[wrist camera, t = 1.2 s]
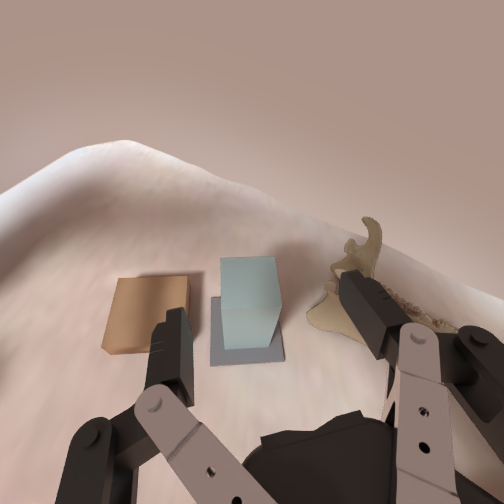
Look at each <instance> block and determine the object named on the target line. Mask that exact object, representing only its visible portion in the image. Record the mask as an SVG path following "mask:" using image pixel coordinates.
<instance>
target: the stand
mask: <svg viewBox="0 0 504 504" xmlns="http://www.w3.org/2000/svg"><path fill="white" fill-rule="evenodd" d="M189 302H190V283H189V279H188V276H167V277H140V278H118V282H117V286H116V290H115V294H114V298H113V302H112V306H111V310H110V314H109V318H108V322H107V326H106V330H105V334H104V338H103V342H102V346H101V348H103V349H104V350H105V351H107V352H108V353H109V354H110V355H117V354H133V353H149V351H150V346H151V344H150V343H151V336H152V332H153V330H154V329H155V327H156V325H157V323H161V322H166V311H167V310H169V309H173V308H178V307H184V310H185V312H186V315H187V318H188V317H189Z"/></svg>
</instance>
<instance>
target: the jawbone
mask: <svg viewBox="0 0 504 504" xmlns="http://www.w3.org/2000/svg"><path fill="white" fill-rule="evenodd" d="M362 221H363V223H364V224H365V226H366V227H367V229H368V232H369V239H368V241H367V243H366V244H365V245H363V246H358V245H357V244H356V243H355V241H354V240H353V239H349V241H348V242H347V243H346V245H345V248H344V252H346V253H348V254H347V256H346V258H345V259H343V260H342V261H340V262H338V263H335V264H333V265H332V266H331V267H330V269H331V271H332V272H333V274H334V275H335V276H336V277H337V278H339V279H340V277H341V273H342V272H345V271H350V270H355V269H357V270H359V271H360V272H361V274H362V275H363V276H364V277H365V278H366V277H370V278H372V279H373V277H374V268H375V264H376V261H377V258H378V255H379V252H380V248H381V244H382V230H381V227H380V225H379V223H378V222H377V221H375V220H374V219H373V218H370V217H363V218H362ZM379 283H380V282H379ZM382 287H383V288H384V289H385V290H386V292H388V293H389V295H390V296H391V298H393V299H394V300H395V301H396V303H397V304H398V305H399V306H400V307H401V308H402V309H403V310H404V312H405V313H406V314H407V315H408V316H409V317H410V318H411V320H412V321H413V322H414V323H419V324H422V325H424V326H426V327H428V328H430V329H431V330H432V331H433V332H438V333H456V334H457V333H458V331H459V330H457V329H456V328H455V327H452V326H449V325H448V322H444V321H443V320H438V321H437V320H434V319H431V318H430V317H429V316H428V315H427V314H425V315H423V314H422V313H421V311H420V309H419V307H418V306H415V307H413V306H412V304H411V303H406V301H405V299H404V298H402V299H399V297H398V295H397V294H394V295H393V293H392V290H391V289H387V288H386V285H382ZM336 289H337V287H336V285H335V284H334V283H333V282H332V281H327V282H325V287H324V290H326V291H327V292H328V294H327V296H326V298H325V300H324V301H323V302H322V303H321V304H319V305H318V306H316V307H314V308H312V309H311V310H309V311H308V312H307V314H306V315H307V319H308V321H309V322H310V324H311V325H312V326H314V327H315V328H317V329H320V330H324V331H331V332H332V331H333V332H338V333H341V334H343V335H345V336H348V337H350V338H352V339H354V340H356V341H358V342H360V343H362V344H364V345H366V346H367V344H366V342H365V341H364V339H363V338H362V336H361V335H360V333H359V332H358V330H357V328H356V327H355V325H354V324H353V322H352V321H351V319H350V318H349V316H348V314H347V313H346V311H345V310H344V308H343V307H342V305H341V303H340V300H339V295H338V294H336Z"/></svg>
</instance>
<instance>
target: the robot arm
mask: <svg viewBox="0 0 504 504" xmlns="http://www.w3.org/2000/svg"><path fill="white" fill-rule="evenodd" d="M338 295H339V300H340V303H341V305H342V307H343V308H344V310H345V311H346V313H347V314H348V316H349V318H350V319H351V321H352V322H353V324H354V325H355V327H356V328H357V330H358V332H359V333H360V335H361V336H362V338H363V339H364V341H365V342H366V344H367V346H368V347H369V349H370V350H371V352H372V353H373V355H374V356H375V358H376V360H379V359H383V358H386V360H387V361H388V368H387V379H386V389H385V400H384V407H383V412H382V416H381V421H380V420H376V419H373V418H367V417H363V415H362V413H361V411H360V410H358V411H354V412H351V413H347V414H343V415H340V416H336V417H335V418H333V419H332V420H330V421H329V422H327V423H326V424H324V425H322V426H321V427H319V428H318V429H316V430H314V431H291V430H285V431H281V432H278V433H274V434H270V435H267V436H263V437H260V438H261V443H262V444H261V445H260V446H258V447H257V448H256V449H254V450H253V451H252V452H251V453H250V454H249V455H248V456H247V457H246V459H245V460H244V462H243V463H242V465H241V464H240V462H239V461H238V460H237V459H236V458H235V457H234V456H233V455H232V454H231V453H230V452H229V450H228V449H227V448H226V447H225V446H224V445H223V444H222V443H221V442H220V441H219V440H218V438H217V437H216V436H215V435H214V434H213V433H212V432H211V431H210V430H209V429H208V428H207V427H206V426H205V425H204V424H203V423H202V422H199V421H198V420H197V419H196V418H195V417H194V416H193V414H192V413H191V412H190V411H189V410H188V409H187V408H188V407H192V406H194V367H193V335H192V329H191V326H190V323H189V320H188V318H187V315H186V312H185V310H184V307H178V308H173V309H169V310H167V311H166V322H161V323H157V325H156V327H155V329H154V330H153V332H152V336H151V343H150V344H151V346H150V351H149V352H150V354H149V359H148V367H147V374H146V382H145V388H144V391H143V392H142V393H141V395H140V396H139V397H138V399H137V401H136V403H135V404H134V405H133V406H131V407H130V408H129V409H127V410H125V411H124V412H122V413H120V414H119V415H117V416H115V417H113V418H112V419H110V420H108V419H107V418H104V417H97V418H94V419H91V420H89V421H88V422H86V423H85V424H84V425H82V426H81V427H80V428H79V429H78V431H77V432H76V433H75V435H74V436H73V438H72V440H71V443H70V446H69V450H68V454H67V458H66V462H65V466H64V470H63V474H62V478H61V482H60V485H59V489H58V493H57V497H56V501H55V504H136V502H137V487H138V472H139V466H141V465H142V464H144V463H145V462H147V461H148V460H150V459H151V458H152V457H154V456H155V455H157V454H158V453H160V452H161V453H162V454H163V455H164V457H165V458H166V460H167V462H168V463H169V465H170V466H171V468H172V469H173V470H174V472H175V473H176V475H177V476H178V477H179V479H180V480H181V482H182V483H183V484H184V486H185V487H186V488H187V490H188V491H189V493H190V494H191V495H192V497H193V498H194V500H195V501H196V502H197V504H503V503H502V502H501V501H499V500H498V499H496V498H495V497H493V496H492V495H490V494H489V493H488V492H486V491H485V490H483V489H482V488H480V487H479V486H478V485H476V484H475V483H473V482H472V481H470V480H469V479H468V478H466V477H465V476H463V475H462V474H460V473H459V472H457V471H456V470H455V469H454V460H453V448H452V436H451V423H450V411H449V399H448V390H447V388H448V389H449V390H450V392H451V393H452V394H453V396H454V397H455V399H456V400H457V401H458V403H459V404H460V405H461V407H462V408H463V409H464V411H465V412H466V413H467V415H468V416H469V418H470V419H471V420H472V422H473V423H474V424H475V426H476V427H477V428H478V430H479V431H480V432H481V434H482V435H483V437H484V438H485V439H486V441H487V442H488V443H489V445H490V446H491V447H492V449H493V450H494V451H495V453H496V454H497V456H498V457H499V458H500V460H501V461H502V462H503V464H504V344H503V343H502V342H501V341H499V340H498V339H497V338H496V337H495V336H494V335H493V334H492V333H490V332H489V331H487V330H485V329H483V328H480V327H477V326H463V327H461V328H460V329H459V331H458V333H457V334H456V333H438V332H433V331H432V330H431V329H430V328H428V327H426V326H424V325H422V324H419V323H414V322H413V321H412V320H411V318H410V317H409V316H408V315H407V314H406V313H405V312H404V310H403V309H402V308H401V307H400V306H399V305H398V304H397V303H396V301H395V300H394V299H393V298H391V296H390V295H389V293H388V292H386V290H385V289H384V288H383V287H382V285H381V284H380V283H379V282H377V281H375V280H374V279H372V278H370V277H366V278H365V277H364V276H363V275H362V274H361V272H360V271H359V270H357V269H355V270H350V271H345V272H342V273H341V277H340V285H339V293H338ZM441 382H443V383H444V384H445V385H444V384H442V383H441ZM446 386H447V387H446Z"/></svg>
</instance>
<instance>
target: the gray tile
mask: <svg viewBox="0 0 504 504" xmlns="http://www.w3.org/2000/svg"><path fill="white" fill-rule="evenodd" d="M271 362H284V355H283V348H282V341H281V334H280V327H279V320H278V321H277V324H276V327H275V330H274V333H273V336H272V339H271V342H270V345H269V347H263V348H247V349H230V350H225V347H224V336H223V325H222V314H221V297H215V298H211V351H210V366H226V365H241V364H256V363H271Z"/></svg>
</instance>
